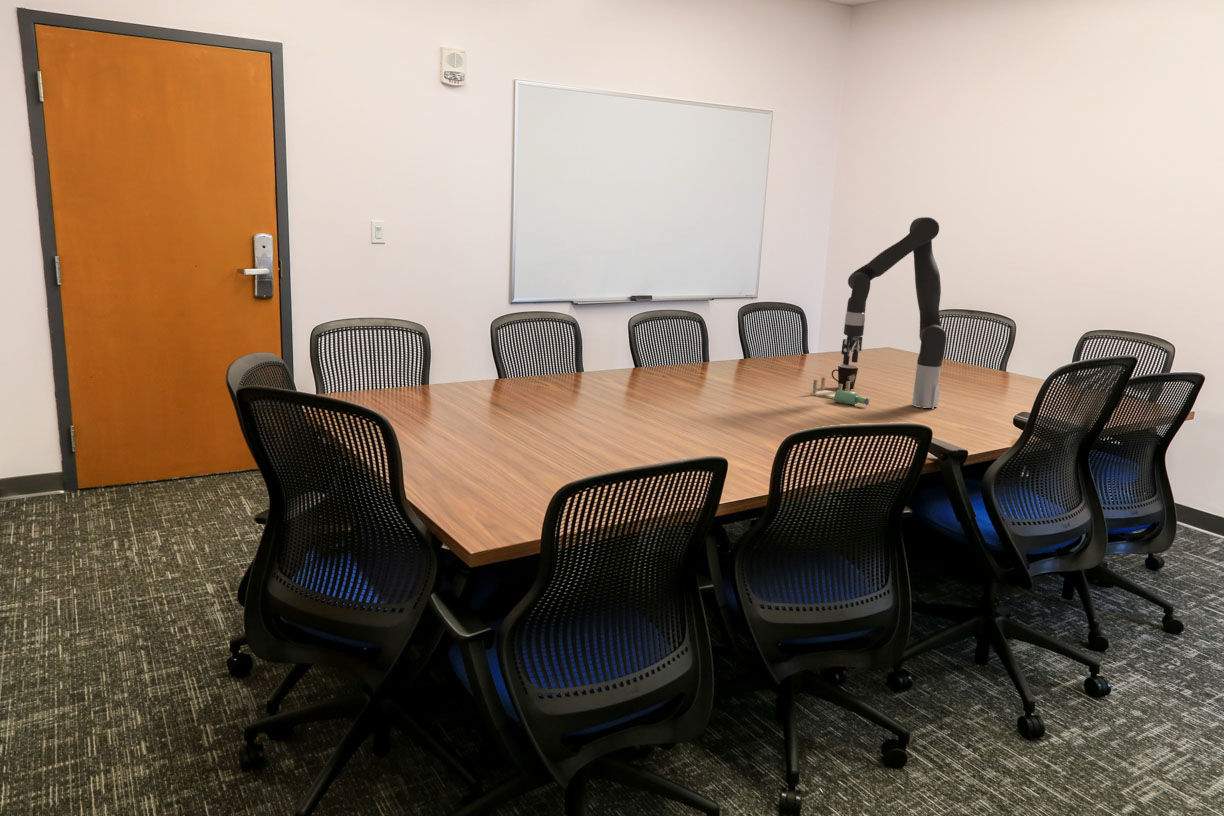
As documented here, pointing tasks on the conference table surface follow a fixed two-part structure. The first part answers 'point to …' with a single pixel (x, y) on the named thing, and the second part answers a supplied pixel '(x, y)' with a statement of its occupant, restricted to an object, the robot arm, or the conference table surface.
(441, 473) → the conference table surface
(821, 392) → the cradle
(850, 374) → the coffee mug
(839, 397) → the bottle
